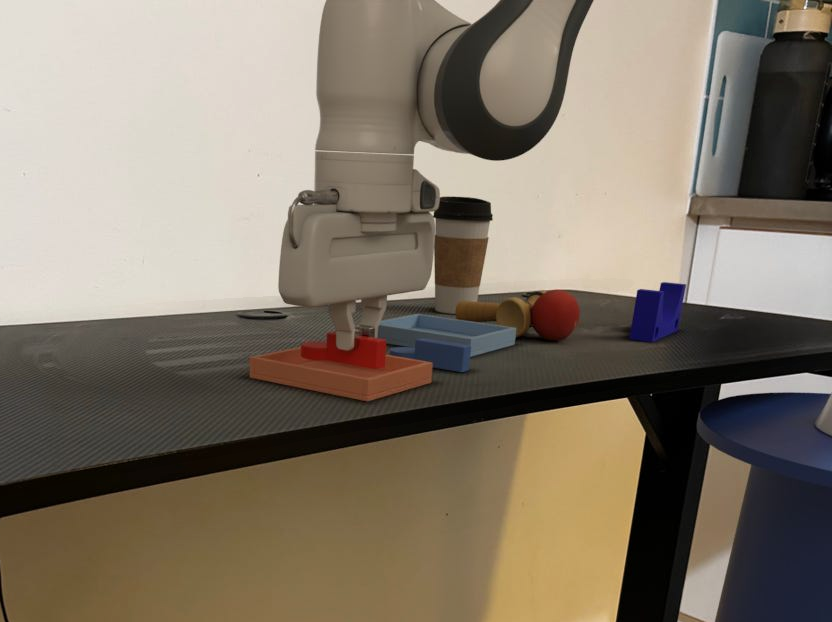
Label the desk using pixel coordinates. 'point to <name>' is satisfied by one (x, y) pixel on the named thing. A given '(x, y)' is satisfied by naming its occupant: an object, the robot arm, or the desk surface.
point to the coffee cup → (459, 250)
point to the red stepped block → (347, 352)
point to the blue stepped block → (437, 354)
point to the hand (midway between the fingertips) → (356, 347)
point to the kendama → (528, 313)
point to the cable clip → (657, 312)
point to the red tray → (341, 374)
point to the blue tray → (446, 332)
